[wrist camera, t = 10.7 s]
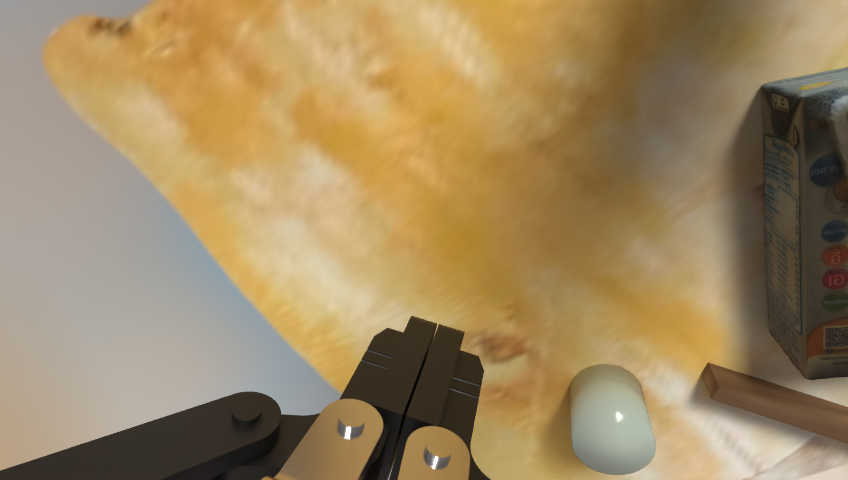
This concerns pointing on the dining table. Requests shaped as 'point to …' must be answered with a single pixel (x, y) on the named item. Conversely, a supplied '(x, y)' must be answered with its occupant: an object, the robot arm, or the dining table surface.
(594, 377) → the grey rounded cylinder
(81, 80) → the dining table surface
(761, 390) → the frame
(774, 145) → the beverage carton
